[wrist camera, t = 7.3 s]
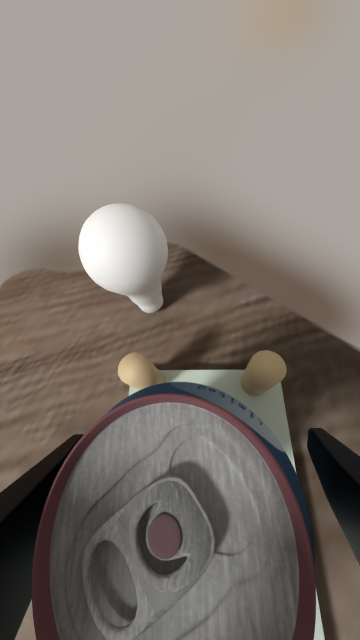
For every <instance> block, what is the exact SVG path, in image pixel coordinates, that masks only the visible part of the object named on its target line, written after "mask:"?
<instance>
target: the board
mask: <svg viewBox="0 0 360 640" xmlns="http://www.w3.org/2000/svg"><path fill="white" fill-rule="evenodd" d="M118 374H119V377H120V379H121V380H122V381H123V382H124V383H126V384H128V385H130V390H129V396H130V395H131V394H133V393H135V392H137V391H139V390H142V389H144V388H146V387H149V386H153V385H156V384H161V383H167V382H191V383H198V384H202V385H206V386H210V387H213V388H215V389H218V390H220V391H223V392H225V393H227V394H228V395H230V396H232V397H234V398H235V399H237V400H239V401H240V402H241V403H243V404H244V405H246V406H247V407H248V408H249V409H250V410H252V411H253V412H254V413H255V414H256V415H257V416H258V417H259V418H260V419H261V420H262V421H263V422H264V423H265V424H266V425H267V426H268V428H269V429H270V430H271V431H272V433H273V434H274V435H275V436H276V438H277V439H278V441H279V442H280V444H281V445H282V447H283V449H284V450H285V452H286V454H287V455H288V457H289V459H290V461H291V463H292V465H293V467H294V469H295V472H296V468H295V463H294V457H293V451H292V445H291V439H290V433H289V427H288V421H287V416H286V410H285V404H284V398H283V392H282V386H281V381H282V380H283V379H284V377H285V375H286V364H285V362H284V360H283V359H282V358H281V357H280V356H279V355H278V354H277V353H275V352H272V351H268V350H263V351H259V352H257V353H255V354H254V355H253V356H252V358H251V360H250V362H249V363H248V365H247V367H246V369H245V370H158V369H157V368H156V367H155V366H154V365H153V364H152V363H151V362H150V361H149V360H148V359H147V358H146V357H145V356H144V355H143V354H141V353H130V354H128V355H126V356H125V357H124V358H123V359H122V360H121V362H120V364H119V367H118ZM314 640H325V638H324V633H323V627H322V621H321V615H320V609H319V603H318V597H317V592H316V622H315V634H314Z"/></svg>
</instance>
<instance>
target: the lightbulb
mask: <svg viewBox="0 0 360 640" xmlns="http://www.w3.org/2000/svg"><path fill="white" fill-rule="evenodd" d="M79 254H80V258H81V262H82V264H83V266H84V269H85V270H86V272H87V274H88V275H89V276H90V277H91V278H92V280H94V281H95V282H96V283H97V284H98V285H100V286H101V287H103V288H105V289H106V290H108V291H112V292H115V293H119V294H123V295H127V296H128V297H129V298H130V299H131V300H132V301H133V302H134V303H136V304H137V305H138V306H139V307H140V308H141V310H143V311H144V312H147V313H152V312H155V311H157V310H159V309H160V308H161V306H162V304H163V296H162V292H161V291H162V286H161V282H160V278H161V276H162V274H163V272H164V269H165V266H166V263H167V255H168V246H167V241H166V238H165V234H164V233H163V231H162V229H161V227H160V225H159V224H158V223H157V221H156V220H155V219H154V218H153V217H152V216H151V215H150V214H148V213H147V212H146V211H144V210H142V209H141V208H138V207H136V206H133V205H130V204H110V205H106V206H104V207H102V208H100V209H98V210H97V211H95V212H94V213H93V214H92V215H91V216H90V217H89V218H88V219H87V220H86V222H85V223H84V225H83V227H82V230H81V233H80V237H79Z"/></svg>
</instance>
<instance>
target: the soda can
mask: <svg viewBox="0 0 360 640" xmlns="http://www.w3.org/2000/svg"><path fill="white" fill-rule="evenodd" d="M32 606H33V619H34V626H35V634H36V639H37V640H314V634H315V622H316V582H315V572H314V544H313V534H312V527H311V521H310V516H309V511H308V507H307V503H306V499H305V496H304V493H303V490H302V487H301V484H300V481H299V479H298V476H297V474H296V472H295V469H294V467H293V465H292V463H291V461H290V459H289V457H288V455H287V454H286V452H285V450H284V449H283V447H282V445H281V444H280V442H279V441H278V439H277V438H276V436H275V435H274V434H273V433H272V431H271V430H270V429H269V428H268V426H267V425H266V424H265V423H264V422H263V421H262V420H261V419H260V418H259V417H258V416H257V415H256V414H255V413H254V412H253V411H252V410H250V409H249V408H248V407H247V406H246V405H244V404H243V403H241V402H240V401H239V400H237V399H235V398H234V397H232V396H230V395H228V394H227V393H225V392H223V391H220V390H218V389H215V388H213V387H210V386H206V385H202V384H198V383H191V382H167V383H161V384H156V385H153V386H149V387H146V388H144V389H142V390H139V391H137V392H135V393H133V394H131V395H130V396H128V397H127V398H125V399H124V400H122V401H121V402H119V403H118V404H117V405H116V406H114V407H113V408H112V409H111V410H110V411H109V412H108V413H107V414H106V415H105V416H103V417H102V418H101V419H100V420H99V421H97V422H96V423H95V424H94V425H93V426H92V427H91V428H90V429H89V430H88V431H87V432H86V433H85V434H84V435H83V436H82V438H81V439H80V440H79V441H78V443H77V444H76V445H75V446H74V448H73V449H72V451H71V452H70V454H69V455H68V457H67V458H66V460H65V461H64V463H63V465H62V467H61V468H60V470H59V472H58V474H57V476H56V478H55V480H54V482H53V485H52V487H51V490H50V492H49V495H48V497H47V500H46V503H45V506H44V509H43V513H42V516H41V520H40V524H39V528H38V533H37V538H36V543H35V550H34V558H33V570H32Z"/></svg>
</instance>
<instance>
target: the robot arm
mask: <svg viewBox="0 0 360 640" xmlns="http://www.w3.org/2000/svg"><path fill="white" fill-rule="evenodd" d="M82 436H83V434H75V435H73V436H71V437H70V438H69V439H68V440H66V441H65V442H64V443H63V444H61V445H60V446H59V447H58V448H56V449H55V450H54V451H52V452H51V453H50V454H49V455H47V456H46V457H45V458H44V459H42V460H41V461H40V462H39V463H37V464H36V465H35V466H34V467H32V468H31V469H30V470H28V471H27V472H26V473H25V474H23V475H22V476H21V477H20V478H18V479H17V480H16V481H15V482H13V483H12V484H11V485H9V486H8V487H7V488H6V489H4V490H3V491H2V492H1V493H0V640H15V637H16V635H17V633H18V630H19V628H20V625H21V623H22V621H23V618H24V616H25V614H26V611H27V609H28V606H29V604H30V602H31V599H32V570H33V558H34V550H35V543H36V538H37V533H38V528H39V524H40V520H41V516H42V513H43V509H44V506H45V503H46V500H47V497H48V495H49V492H50V490H51V487H52V485H53V482H54V480H55V478H56V476H57V474H58V472H59V470H60V468H61V467H62V465H63V463H64V461H65V460H66V458H67V457H68V455H69V454H70V452H71V451H72V449H73V448H74V446H75V445H76V444H77V443H78V441H79V440H80V439H81V438H82ZM307 447H308V451H309V454H310V457H311V459H312V462H313V464H314V467H315V469H316V472H317V475H318V477H319V480H320V482H321V485H322V488H323V490H324V493H325V495H326V498H327V500H328V502H329V504H330V506H331V508H332V510H333V512H334V514H335V516H336V518H337V520H338V522H339V524H340V526H341V528H342V530H343V532H344V535H345V537H346V539H347V541H348V543H349V545H350V547H351V549H352V551H353V553H354V555H355V557H356V559H357V561H358V563H359V565H360V456H358V455H357V454H356V453H354V452H353V451H352V450H350V449H349V448H348V447H346V446H345V445H344V444H342V443H341V442H340V441H338V440H337V439H336V438H334V437H333V436H331V435H330V434H329V433H327V432H326V431H325V430H323V429H322V428H310V429H309V431H308V441H307Z"/></svg>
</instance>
